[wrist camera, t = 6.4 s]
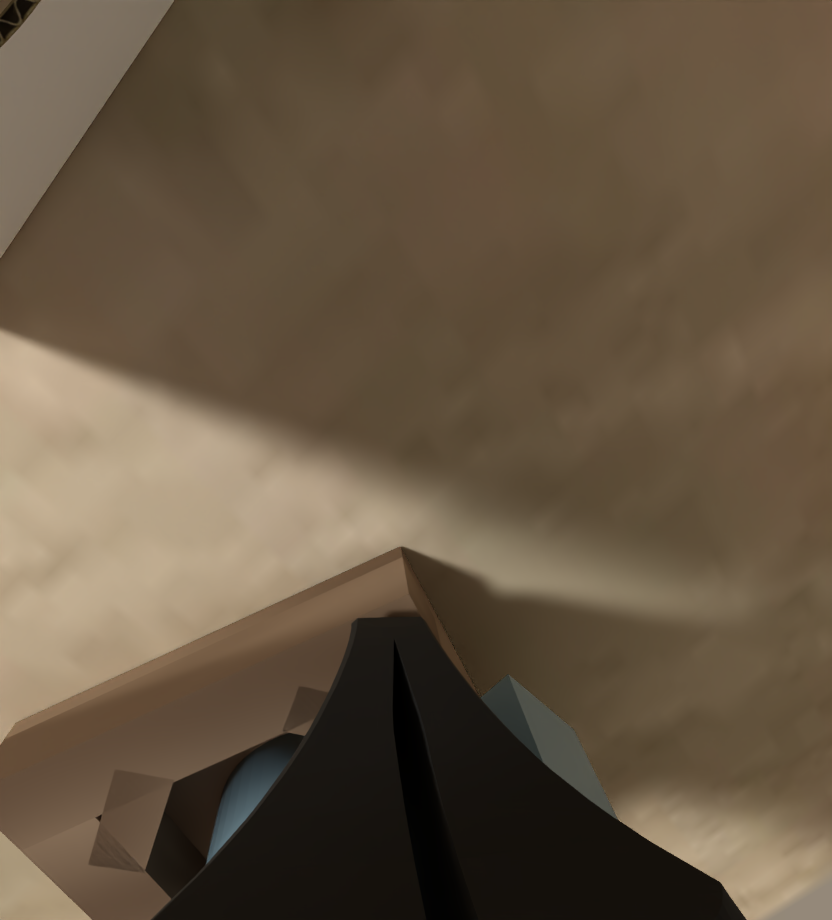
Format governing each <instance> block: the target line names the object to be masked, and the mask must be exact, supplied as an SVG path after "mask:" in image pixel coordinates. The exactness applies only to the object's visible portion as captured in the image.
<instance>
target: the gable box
mask: <svg viewBox="0 0 832 920" xmlns="http://www.w3.org/2000/svg"><path fill="white" fill-rule="evenodd" d="M173 2H174V0H0V258H1V257H2V255H3V254H4V252H5V251H6V249H7V248H8V246H9V245H10V243H11V242H12V240H13V239H14V237H15V236H16V235H17V233H18V232H19V230H20V229H21V227H22V226H23V224H24V223H25V221H26V220H27V218H28V217H29V215H30V214H31V212H32V211H33V209H34V208H35V206H36V205H37V203H38V202H39V200H40V199H41V197H42V196H43V195H44V193H45V192H46V190H47V189H48V187H49V186H50V184H51V183H52V181H53V180H54V178H55V177H56V175H57V174H58V172H59V171H60V169H61V168H62V166H63V165H64V163H65V162H66V160H67V159H68V157H69V156H70V154H71V153H72V152H73V150H74V149H75V147H76V146H77V144H78V143H79V141H80V140H81V138H82V137H83V135H84V134H85V132H86V131H87V129H88V128H89V126H90V125H91V123H92V122H93V120H94V119H95V117H96V116H97V114H98V113H99V111H100V110H101V109H102V107H103V106H104V104H105V103H106V101H107V100H108V98H109V97H110V95H111V94H112V92H113V91H114V89H115V88H116V86H117V85H118V83H119V82H120V80H121V79H122V77H123V76H124V74H125V73H126V71H127V70H128V68H129V67H130V66H131V64H132V63H133V61H134V60H135V58H136V57H137V55H138V54H139V52H140V51H141V49H142V48H143V46H144V45H145V43H146V42H147V40H148V39H149V37H150V36H151V34H152V33H153V31H154V30H155V28H156V27H157V25H158V24H159V23H160V21H161V20H162V18H163V17H164V15H165V14H166V12H167V11H168V9H169V8H170V6H171V5H172V3H173Z"/></svg>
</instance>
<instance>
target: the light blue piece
mask: <svg viewBox="0 0 832 920" xmlns="http://www.w3.org/2000/svg"><path fill="white" fill-rule="evenodd" d="M481 699H482V700H483V702H484V703H485V704H486V705H487V706H488V707H489V708H490V710H491V711H492V712H493V713H494V714H495V715H496V716H497V717H498V719H499V720H500V721H501V722H502V723H503V724H504V725H505V726H506V727H507V728H508V729H509V730H510V731H511V732H512V733H513V734H514V735H515V736H516V737H517V738H518V739H519V740H520V741H521V742H522V743H523V744H524V745H525V746H526V747H527V748H528V749H529V750H530V751H531V752H532V753H533V754H534V755H535V756H536V757H537V758H539V759H540V760H541V761H542V762H543V763H544V764H545V765H547V766H548V767H549V768H550V769H551V770H552V771H554V772H555V773H556V774H557V775H559V776H560V777H561V778H562V779H564V780H565V781H566V782H567V783H569V784H570V785H571V786H573V787H574V788H575V789H576V790H578V791H579V792H580V793H581V794H583V795H584V796H585V797H587V798H588V799H589V800H590V801H592V802H593V803H595V804H596V805H597V806H599V807H600V808H601V809H603V810H604V811H606V812H607V813H608V814H610V815H611V816H613V817H614V818H616V819H617V817H616V815H615V812H614V810H613V808H612V806H611V804H610V802H609V800H608V798H607V796H606V794H605V792H604V790H603V788H602V786H601V784H600V782H599V780H598V778H597V776H596V774H595V772H594V770H593V768H592V765H591V763H590V761H589V759H588V757H587V755H586V753H585V751H584V749H583V747H582V745H581V743H580V741H579V739H578V737H577V735H576V733H575V731H574V729H573V728H571V727H570V726H569V725H568V724H567V723H565V722H564V721H563V720H562V719H561V718H560V717H558V716H557V715H556V714H555V713H554V712H552V711H551V710H550V709H549V708H548V707H547V706H545V705H544V704H543V703H542V702H541V701H539V700H538V699H537V698H536V697H535V696H534V695H532V694H531V693H530V692H529V691H528V690H526V689H525V688H524V687H523V686H522V685H521V684H519V683H518V682H517V681H516V680H515V679H513V678H512V677H511V676H510V675H509V674H508V675H506V676H505V677H504V678H503V679H502V680H501V681H499V682H498V683H497V684H496V685H495V686H494V687H492V688H491V689H490V690H489V691H488V692H486V693H485V694H484V695H483V696H482V697H481ZM304 737H305V736H303V735H298V734H294V733H288V734H285V735H282V736H279V737H277V738H275V739H273V740H271V741H268V742H266V743H265V744H263V745H262V746H260V747H258V748H257V749H255V750H254V751H253V752H251V753H250V754H249V755H248V756H246V757H245V758H244V759H243V760H242V761H241V762H240V763H239V764H238V765H237V766H236V768H235V769H234V770H233V772H232V773H231V775H230V776H229V778H228V780H227V782H226V784H225V785H224V788H223V791H222V794H221V798H220V802H219V807H218V811H217V816H216V820H215V825H214V829H213V834H212V838H211V843H210V847H209V852H208V856H207V861H206V864H207V863H208V862H209V861H210V860H211V858H212V857H213V856H214V855H215V854H216V853H217V852H218V850H219V849H220V848H221V847H222V846H223V845H224V844H225V842H226V841H227V840H228V839H229V838H230V837H231V836H232V834H233V833H234V832H235V831H236V830H237V829H238V828H239V826H240V825H241V824H242V823H243V822H244V821H245V820H246V818H247V817H248V816H249V815H250V813H251V812H252V811H253V810H254V808H255V807H256V806H257V805H258V803H259V802H260V801H261V799H262V798H263V797H264V795H265V794H266V793H267V791H268V790H269V789H270V787H271V786H272V784H273V783H274V782H275V780H276V779H277V778H278V776H279V775H280V774H281V772H282V771H283V769H284V768H285V766H286V765H287V763H288V762H289V760H290V759H291V757H292V756H293V754H294V753H295V751H296V750H297V748H298V746H299V745H300V743H301V742H302V740H303V738H304ZM617 820H618V819H617Z"/></svg>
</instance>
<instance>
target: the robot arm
mask: <svg viewBox="0 0 832 920" xmlns="http://www.w3.org/2000/svg"><path fill="white" fill-rule="evenodd" d="M151 920H746V918H745V917H744V916H743V914H742V913H741V911H740V910H739V909H738V907H737V906H736V904H735V903H734V902H733V900H732V899H731V897H730V896H729V895H728V893H727V892H726V890H725V889H724V887H723V886H722V884H721V883H720V882H719V881H717V880H715V879H714V878H712V877H710V876H708V875H707V874H705V873H703V872H702V871H700V870H698V869H696V868H695V867H693V866H691V865H690V864H688V863H686V862H684V861H683V860H681V859H679V858H678V857H676V856H674V855H672V854H671V853H669V852H667V851H666V850H664V849H662V848H660V847H659V846H657V845H655V844H654V843H652V842H650V841H649V840H647V839H646V838H644V837H642V836H641V835H640V834H638V833H637V832H635V831H634V830H632V829H631V828H629V827H628V826H626V825H625V824H623V823H622V822H620V821H619V820H617V819H616V818H614V817H613V816H611V815H610V814H608V813H607V812H606V811H604V810H603V809H601V808H600V807H599V806H597V805H596V804H595V803H593V802H592V801H590V800H589V799H588V798H587V797H585V796H584V795H583V794H581V793H580V792H579V791H578V790H576V789H575V788H574V787H573V786H571V785H570V784H569V783H567V782H566V781H565V780H564V779H562V778H561V777H560V776H559V775H557V774H556V773H555V772H554V771H552V770H551V769H550V768H549V767H548V766H547V765H545V764H544V763H543V762H542V761H541V760H540V759H539V758H537V757H536V756H535V755H534V754H533V753H532V752H531V751H530V750H529V749H528V748H527V747H526V746H525V745H524V744H523V743H522V742H521V741H520V740H519V739H518V738H517V737H516V736H515V735H514V734H513V733H512V732H511V731H510V730H509V729H508V728H507V727H506V726H505V725H504V724H503V723H502V722H501V721H500V720H499V719H498V717H497V716H496V715H495V714H494V713H493V712H492V711H491V710H490V708H489V707H488V706H487V705H486V704H485V703H484V702H483V700H482V699H481V698H480V697H479V696H478V694H477V693H476V692H475V691H474V690H473V688H472V687H471V686H470V684H469V683H468V682H467V681H466V679H465V678H464V677H463V675H462V674H461V673H460V672H459V670H458V669H457V668H456V666H455V665H454V664H453V662H452V661H451V659H450V658H449V657H448V655H447V654H446V652H445V651H444V649H443V648H442V647H441V645H440V644H439V642H438V640H437V639H436V637H435V636H434V634H433V633H432V631H431V629H430V628H429V626H428V624H427V623H426V621H425V620H424V619H423V618H422V617H377V618H357V619H356V620H355V621H353V622H352V623H351V633H350V637H349V641H348V645H347V648H346V651H345V654H344V657H343V660H342V662H341V665H340V667H339V669H338V672H337V674H336V676H335V679H334V681H333V683H332V686H331V688H330V690H329V692H328V694H327V696H326V698H325V700H324V702H323V704H322V706H321V708H320V710H319V712H318V713H317V715H316V717H315V719H314V721H313V723H312V725H311V726H310V728H309V730H308V732H307V733H306V735H305V737H304V738H303V740H302V742H301V743H300V745H299V746H298V748H297V750H296V751H295V753H294V754H293V756H292V757H291V759H290V760H289V762H288V763H287V765H286V766H285V768H284V769H283V771H282V772H281V774H280V775H279V776H278V778H277V779H276V780H275V782H274V783H273V784H272V786H271V787H270V789H269V790H268V791H267V793H266V794H265V795H264V797H263V798H262V799H261V801H260V802H259V803H258V805H257V806H256V807H255V808H254V810H253V811H252V812H251V813H250V815H249V816H248V817H247V818H246V820H245V821H244V822H243V823H242V824H241V825H240V826H239V828H238V829H237V830H236V831H235V832H234V833H233V834H232V836H231V837H230V838H229V839H228V840H227V841H226V842H225V844H224V845H223V846H222V847H221V848H220V849H219V850H218V852H217V853H216V854H215V855H214V856H213V857H212V858H211V860H210V861H209V862H208V863H207V864H206V865H205V866H204V867H203V868H202V869H201V870H200V871H199V872H198V873H197V875H196V876H195V877H194V878H193V879H192V880H191V881H189V882H188V883H187V884H186V885H185V886H184V887H183V888H182V889H181V890H180V891H179V892H178V893H177V894H176V895H175V896H174V897H173V898H172V899H171V900H170V901H169V902H168V903H167V904H166V905H165V906H164V907H163V908H162V909H161V910H160V911H159V912H158V913H157V914H156V915H155V916H154V917H153V918H152V919H151Z"/></svg>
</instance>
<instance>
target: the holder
mask: <svg viewBox="0 0 832 920" xmlns="http://www.w3.org/2000/svg"><path fill="white" fill-rule="evenodd" d="M377 617H422V618H423V619H424V620H425V621H426V623H427V624H428V626H429V628H430V629H431V631H432V633H433V634H434V636H435V637H436V639H437V640H438V642H439V644H440V645H441V647H442V648H443V649H444V651H445V652H446V654H447V655H448V657H449V658H450V659H451V661H452V662H453V664H454V665H455V666H456V668H457V669H458V670H459V672H460V673H461V674H462V675H463V677H464V678H465V679H466V681H467V682H468V683H469V684H470V686H471V687H472V688H473V690H474V691H475V692H476V693H477V691H476V689H475V687H474V685H473V683H472V681H471V680H470V678H469V676H468V674H467V672H466V670H465V668H464V666H463V664H462V662H461V661H460V659H459V657H458V655H457V653H456V651H455V649H454V647H453V645H452V644H451V642H450V640H449V638H448V636H447V634H446V632H445V630H444V628H443V626H442V625H441V623H440V621H439V619H438V617H437V615H436V613H435V611H434V609H433V607H432V606H431V604H430V602H429V600H428V598H427V596H426V594H425V592H424V590H423V589H422V587H421V585H420V583H419V581H418V579H417V577H416V575H415V573H414V571H413V570H412V568H411V566H410V564H409V562H408V560H407V558H406V556H405V554H404V552H403V551H402V549H401V547H398V548H396V549H394V550H391V551H389V552H387V553H385V554H383V555H381V556H378V557H376V558H374V559H372V560H370V561H368V562H365V563H363V564H361V565H359V566H357V567H354V568H352V569H350V570H348V571H346V572H344V573H341V574H339V575H337V576H335V577H333V578H331V579H328V580H326V581H324V582H322V583H320V584H317V585H315V586H313V587H311V588H309V589H307V590H304V591H302V592H300V593H298V594H296V595H293V596H291V597H289V598H287V599H285V600H283V601H280V602H278V603H276V604H274V605H272V606H270V607H267V608H265V609H263V610H261V611H259V612H256V613H254V614H252V615H250V616H248V617H246V618H243V619H241V620H239V621H237V622H235V623H232V624H230V625H228V626H226V627H224V628H222V629H219V630H217V631H215V632H213V633H211V634H209V635H206V636H204V637H202V638H200V639H198V640H195V641H193V642H191V643H189V644H187V645H185V646H182V647H180V648H178V649H176V650H174V651H172V652H169V653H167V654H165V655H163V656H161V657H158V658H156V659H154V660H152V661H150V662H148V663H145V664H143V665H141V666H139V667H137V668H134V669H132V670H130V671H128V672H126V673H124V674H121V675H119V676H117V677H115V678H113V679H111V680H108V681H106V682H104V683H102V684H100V685H97V686H95V687H93V688H91V689H89V690H87V691H84V692H82V693H80V694H78V695H76V696H73V697H71V698H69V699H67V700H65V701H63V702H60V703H58V704H56V705H54V706H52V707H50V708H47V709H45V710H43V711H41V712H39V713H36V714H34V715H32V716H30V717H28V718H26V719H23V720H21V721H19V722H17V723H15V725H14V726H13V728H12V729H11V731H10V732H9V733H8V735H7V736H6V738H5V739H4V741H3V742H2V743H1V745H0V831H1V832H2V833H3V834H4V835H5V836H6V837H7V838H8V839H9V840H10V841H11V842H12V843H13V844H14V845H15V846H17V847H18V848H19V849H20V850H21V851H22V852H23V853H24V854H25V855H26V856H27V857H28V858H29V859H30V860H31V861H32V862H33V863H34V864H35V865H36V866H37V867H38V868H39V869H40V870H41V871H42V872H43V873H45V874H46V875H47V876H48V877H49V878H50V879H51V880H52V881H53V882H54V883H55V884H56V885H57V886H58V887H59V888H60V889H61V890H62V891H63V892H64V893H65V894H66V895H67V896H68V897H69V898H70V899H71V900H72V901H74V902H75V903H76V904H77V905H78V906H79V907H80V908H81V909H82V910H83V911H84V912H85V913H86V914H87V915H88V916H89V917H90V918H91V919H92V920H151V919H152V918H153V917H154V916H155V915H156V914H157V913H158V912H159V911H160V910H161V909H162V908H163V907H164V906H165V905H166V904H167V903H168V902H169V901H170V900H171V899H172V898H173V897H174V896H175V895H176V894H177V893H178V892H179V891H180V890H181V889H182V888H183V887H184V886H185V885H186V884H187V883H188V882H189V881H191V880H192V879H193V878H194V877H195V876H196V875H197V873H198V872H199V871H200V870H201V869H202V868H203V867H204V866H205V865H206V861H207V856H208V852H209V847H210V843H211V838H212V834H213V829H214V825H215V820H216V816H217V811H218V807H219V802H220V798H221V794H222V791H223V788H224V785H225V784H226V782H227V780H228V778H229V776H230V775H231V773H232V772H233V770H234V769H235V768H236V766H237V765H238V764H239V763H240V762H241V761H242V760H243V759H244V758H245V757H246V756H248V755H249V754H250V753H251V752H253V751H254V750H255V749H257V748H258V747H260V746H262V745H263V744H265V743H266V742H268V741H271V740H273V739H275V738H277V737H279V736H282V735H285V734H288V733H294V734H298V735H303V736H305V735H306V733H307V732H308V730H309V728H310V726H311V725H312V723H313V721H314V719H315V717H316V715H317V713H318V712H319V710H320V708H321V706H322V704H323V702H324V700H325V698H326V696H327V694H328V692H329V690H330V688H331V686H332V683H333V681H334V679H335V676H336V674H337V672H338V669H339V667H340V665H341V662H342V660H343V657H344V654H345V651H346V648H347V645H348V641H349V637H350V633H351V623H352V622H353V621H355V620H356V619H357V618H377ZM477 694H478V693H477ZM478 696H479V695H478Z"/></svg>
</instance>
